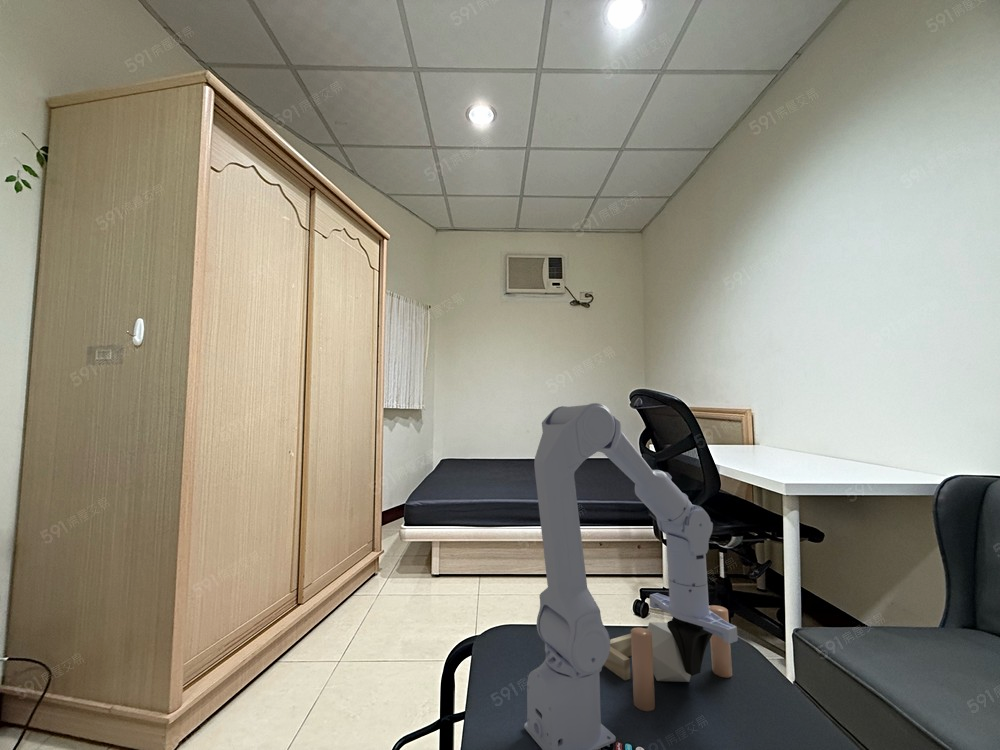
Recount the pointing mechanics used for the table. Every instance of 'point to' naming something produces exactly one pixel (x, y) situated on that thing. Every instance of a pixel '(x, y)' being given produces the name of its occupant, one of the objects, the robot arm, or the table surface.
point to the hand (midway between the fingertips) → (692, 672)
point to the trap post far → (720, 648)
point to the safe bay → (620, 656)
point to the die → (666, 655)
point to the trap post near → (642, 669)
